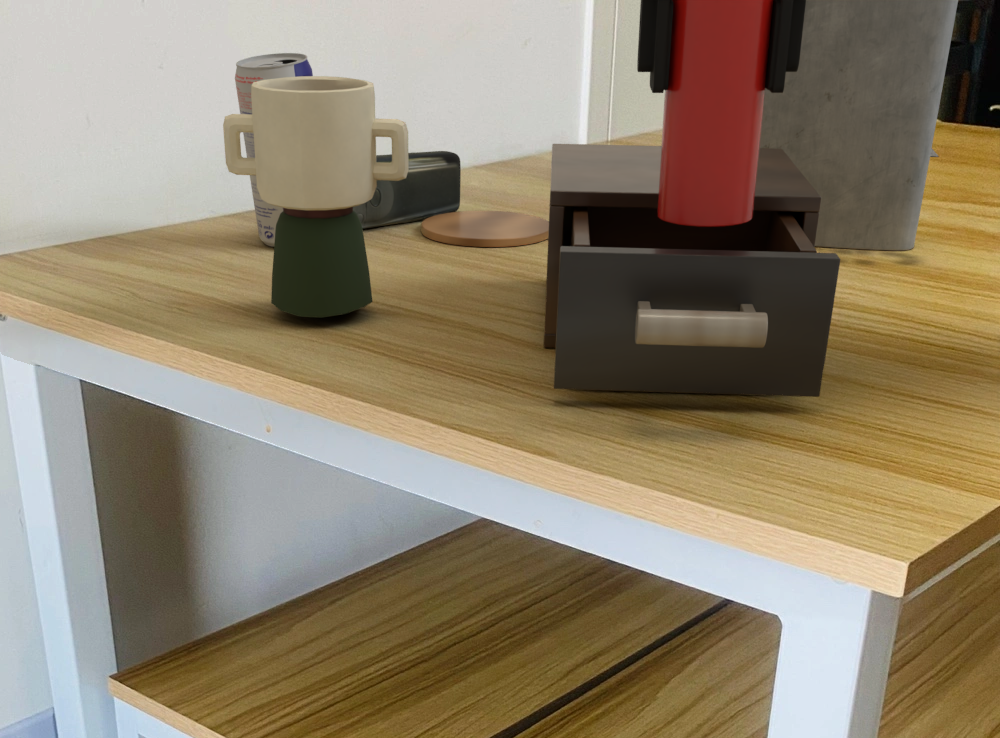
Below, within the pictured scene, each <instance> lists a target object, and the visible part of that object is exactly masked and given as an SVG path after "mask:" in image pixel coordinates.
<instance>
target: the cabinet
mask: <svg viewBox="0 0 1000 738" xmlns="http://www.w3.org/2000/svg"><path fill="white" fill-rule="evenodd" d="M661 146H662V145H630V144H629V145H628V144H592V143H591V144H589V143H587V144H584V143H580V144H579V143H552V144H551V165H550V167H551V168H550V185H549V186H550V187H549V188H550V191H549V211H548V221H549V232H548V239H547V255H546V257H547V258H546V259H547V261H546V281H545V305H544V330H543V332H544V333H543V348H545V349H547V348H548V349H556V328H557V307H558V286H559V265H560V247H561V246H570V242H571V223H572V206H579V207H621V208H658V193H659V177H660V162H661ZM820 205H821V196H820V195H819V194H818V193H817V191H816V190H815V189H814V188H813V187H812V185H811V184H810V183H809V182H808V180H807V179H806V178H805V177H804V175H803V174H802V173H801V172H800V170H799V169H798V168H797V167H796V166H795V164H794V163H793V162H792V161H791V159H790V158H789V157H788V156H787V154H786V153H785V152H784V151H783V149H773V148H760V149H759V159H758V169H757V179H756V189H755V200H754V210H753V211H785V212H791V214H792V215H793V217H794V218H795V220H796V221H797V223H798V224H799V226H800V227H801V229H802V230H803V232H804V233H805V234H806V236H807V237H808V239H809V240H810V242H811V243H812V245H813V246H814V248H815V247H816V246H815V241H816V234H817V227H818V220H819V211H820ZM815 249H816V248H815Z"/></svg>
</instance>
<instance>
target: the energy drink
mask: <svg viewBox="0 0 1000 738" xmlns="http://www.w3.org/2000/svg"><path fill="white" fill-rule="evenodd" d="M235 65H236V69H235V75H234V81H235V82H234V83H235V89H236V95H237V102H238V108H239V114H251V115H252V101H251V86H252V84H253V82H257V81H261V80H267V79H276V78H285V77H300V76H314V75H313V68H312V66H311V64H310V61H309V60H308V55H306V54H304V53H297V52H282V53H281V52H279V53H277V52H276V53H268V54H260V55H255V56H250V57H247V58H243V59H240V60H238V61H236V62H235ZM242 135H243V142H244V147H245V153H246V158H255V147H254V133H251V132H242ZM249 180H250V188H251V193H252V199H253V206H254V212H255V220H256V224H257V232H258V238H259V239H260V241H261V242H263V244H264V245H266V246H268V247H272V248H274V243H275V229H276V223H277V221H278V218H279V216H280V213H282V212H283V208H282V207H278V206H274V205H271V204H269V203H267V202H265V201H264V200H262V199H261V197H260V194H259V191H258V188H257V179H256V175H249Z"/></svg>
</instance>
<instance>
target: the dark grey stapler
mask: <svg viewBox="0 0 1000 738" xmlns="http://www.w3.org/2000/svg"><path fill="white" fill-rule="evenodd" d="M376 162H381V163H391V162H392V153H390V154H376ZM408 167H409V170H408V173H407V177H406V178H405V179H402V180H399V181H391V180H377V187H376V189H375V192H374V195H373V197H372V199H371V200H369V201H367V202H366V203H363V204H361V205H359V206H355V207H353V211H354V212H356V213H357V215H358V217H359V219H360V221H361V223H362V229H363V230H364V229H373V228H378V227H385V226H390V225H398V224H405V223H406V224H407V223H413V222H417V221H424V220H425V219H427V218H429V217H432V216H435V215H439V214H444V213H451V212H458V210H459V209H460V206H461V180H462V179H461V178H462V177H461V176H462V175H461V174H462V173H461V158H460V156H459V155H458V154H457V153H455V152H452V151H449V150H448V151H447V150H434V151H419V152H408Z"/></svg>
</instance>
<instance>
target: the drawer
mask: <svg viewBox="0 0 1000 738" xmlns="http://www.w3.org/2000/svg"><path fill="white" fill-rule="evenodd" d="M657 209H658V208H621V207H579V206H572V223H571V242H570V246H561V247H560V265H559V286H558V307H557V328H556V348H554V349H555V352H554V370H553V371H554V372H553V373H554V374H553V389H555V390H578V391H579V390H580V391H581V390H582V391H583V390H585V391H612V392H613V391H615V392H646V393H648V392H650V393H675V394H677V393H679V394H708V395H709V394H710V395H712V394H713V395H740V396H741V395H743V396H748V395H749V396H772V397H773V396H774V397H777V396H779V397H807V398H808V397H809V398H810V397H811V398H812V397H813V398H819V397H820V395H821V389H822V382H823V376H824V371H825V370H824V369H825V363H826V356H827V350H828V343H829V337H830V331H831V325H832V319H833V312H834V311H833V310H834V304H835V297H836V291H837V285H838V277H839V272H840V265H841V258H840V257H839V255H838V253H836V252H817V249H816V248H814V246H813V245H812V243H811V242H810V240H809V239H808V237H807V236H806V234H805V233H804V232H803V230H802V229H801V227H800V226H799V224H798V223H797V221H796V220H795V218H794V217H793V215H792V214H791V212H785V211H753V217H752V219H751V220H750V221H749V222H746V223H743V224H739V225H733V226H724V227H695V226H684V225H678V224H673V223H669V222H666V221H663V220H661V219H659V218H658V216H657Z"/></svg>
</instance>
